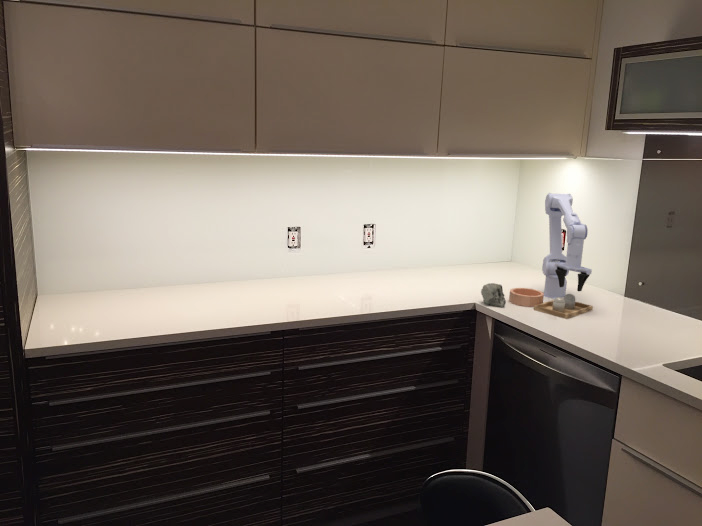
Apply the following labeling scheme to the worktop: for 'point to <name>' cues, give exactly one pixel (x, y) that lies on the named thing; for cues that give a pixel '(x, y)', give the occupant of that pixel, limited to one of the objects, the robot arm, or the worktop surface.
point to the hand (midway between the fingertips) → (570, 288)
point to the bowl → (526, 297)
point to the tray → (578, 309)
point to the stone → (493, 294)
